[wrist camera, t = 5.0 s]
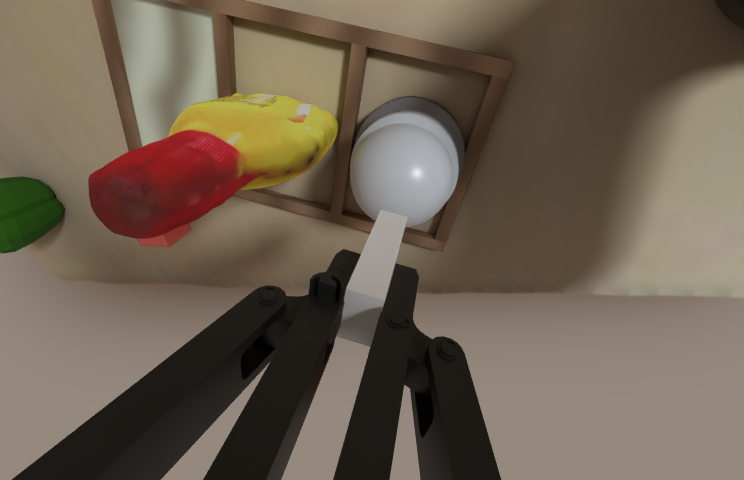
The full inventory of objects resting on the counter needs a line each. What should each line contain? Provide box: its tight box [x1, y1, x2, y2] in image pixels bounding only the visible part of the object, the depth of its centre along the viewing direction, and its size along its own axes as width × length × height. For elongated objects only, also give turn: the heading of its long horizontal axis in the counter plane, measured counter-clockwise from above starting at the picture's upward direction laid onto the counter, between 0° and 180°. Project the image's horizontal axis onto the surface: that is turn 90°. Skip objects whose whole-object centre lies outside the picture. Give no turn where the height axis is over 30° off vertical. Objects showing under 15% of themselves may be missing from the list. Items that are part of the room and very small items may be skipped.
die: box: [138, 223, 191, 247], centre depth 39 cm, size 4×4×5 cm
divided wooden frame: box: [92, 0, 515, 252], centre depth 31 cm, size 36×18×2 cm, turn 79°
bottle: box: [89, 93, 338, 239], centre depth 23 cm, size 12×6×20 cm, turn 86°
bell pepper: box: [0, 177, 64, 253], centre depth 39 cm, size 8×8×10 cm
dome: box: [350, 109, 459, 228], centre depth 25 cm, size 9×9×8 cm
